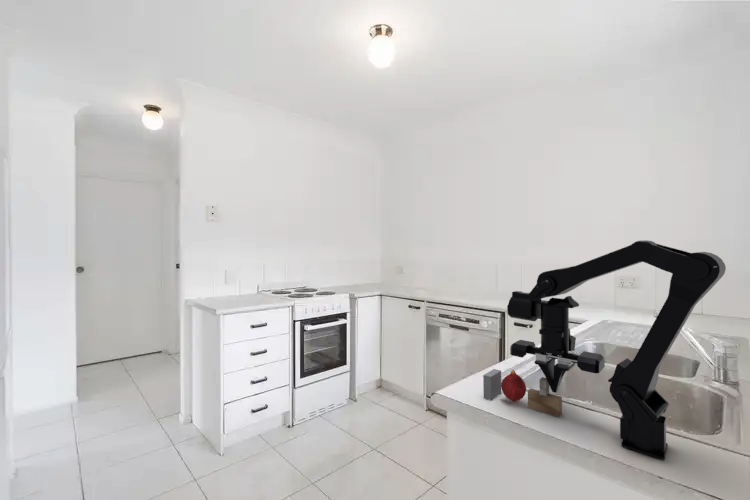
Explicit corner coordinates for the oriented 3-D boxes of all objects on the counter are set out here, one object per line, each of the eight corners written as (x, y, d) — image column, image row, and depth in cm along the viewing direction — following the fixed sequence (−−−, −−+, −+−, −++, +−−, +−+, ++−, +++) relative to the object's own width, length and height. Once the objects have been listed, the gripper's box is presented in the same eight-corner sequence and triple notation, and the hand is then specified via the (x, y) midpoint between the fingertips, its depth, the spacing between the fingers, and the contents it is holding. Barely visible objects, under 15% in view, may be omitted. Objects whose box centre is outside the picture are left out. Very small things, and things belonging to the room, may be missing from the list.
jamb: (501, 393, 93) (501, 370, 93) (490, 400, 89) (490, 376, 89) (494, 390, 94) (493, 368, 94) (483, 398, 90) (483, 375, 90)
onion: (531, 406, 85) (530, 373, 85) (508, 408, 84) (508, 375, 84) (518, 396, 91) (518, 365, 91) (497, 397, 90) (497, 367, 90)
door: (562, 413, 81) (561, 381, 81) (559, 417, 79) (559, 384, 79) (531, 404, 86) (530, 374, 86) (527, 407, 84) (527, 376, 84)
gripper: (610, 324, 80) (610, 392, 80) (526, 314, 93) (527, 372, 93) (598, 334, 72) (598, 409, 72) (509, 321, 85) (509, 384, 85)
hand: (554, 391), depth 81 cm, fingers closed
